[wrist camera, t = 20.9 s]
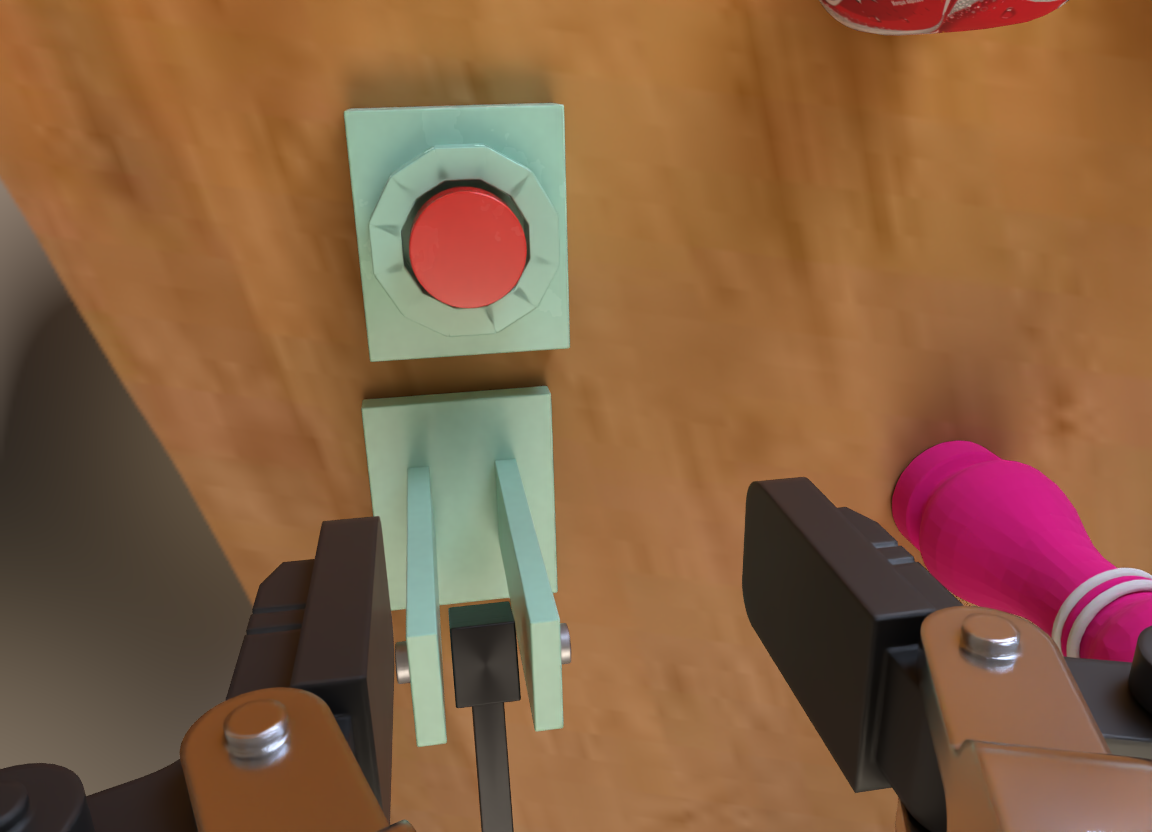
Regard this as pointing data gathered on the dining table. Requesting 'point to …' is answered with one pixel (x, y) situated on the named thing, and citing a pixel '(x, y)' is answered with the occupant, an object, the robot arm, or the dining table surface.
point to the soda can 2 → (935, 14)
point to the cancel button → (467, 247)
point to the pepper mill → (1019, 550)
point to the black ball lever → (487, 698)
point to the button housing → (433, 164)
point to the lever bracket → (468, 532)
